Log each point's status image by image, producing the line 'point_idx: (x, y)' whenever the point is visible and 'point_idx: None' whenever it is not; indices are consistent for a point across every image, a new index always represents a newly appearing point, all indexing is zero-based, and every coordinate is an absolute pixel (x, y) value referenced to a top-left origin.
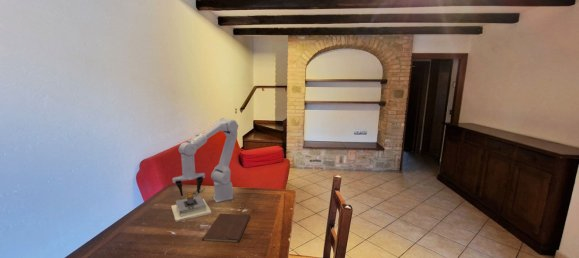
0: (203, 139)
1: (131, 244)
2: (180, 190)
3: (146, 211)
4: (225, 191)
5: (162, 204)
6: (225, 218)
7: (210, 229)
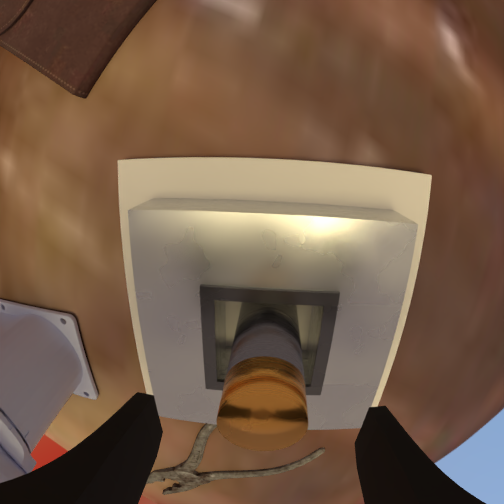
0: None
1: None
2: (431, 469)
3: (476, 403)
4: None
5: None
6: (72, 9)
7: None
